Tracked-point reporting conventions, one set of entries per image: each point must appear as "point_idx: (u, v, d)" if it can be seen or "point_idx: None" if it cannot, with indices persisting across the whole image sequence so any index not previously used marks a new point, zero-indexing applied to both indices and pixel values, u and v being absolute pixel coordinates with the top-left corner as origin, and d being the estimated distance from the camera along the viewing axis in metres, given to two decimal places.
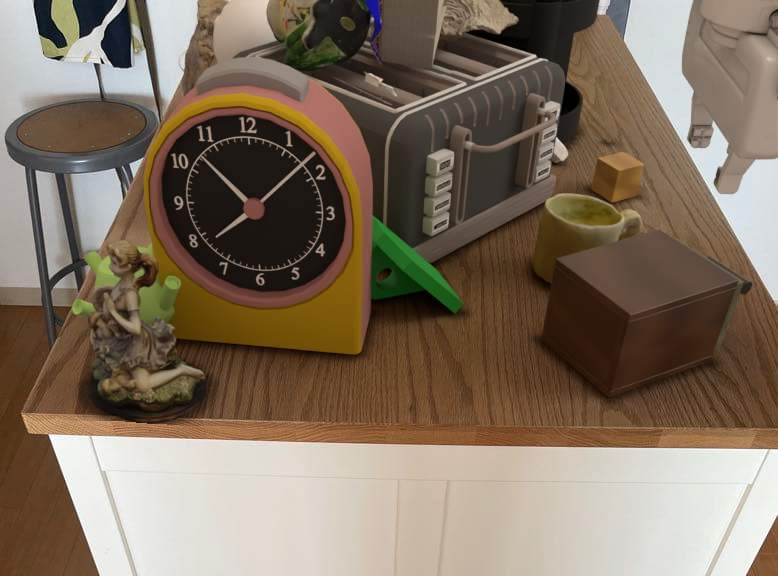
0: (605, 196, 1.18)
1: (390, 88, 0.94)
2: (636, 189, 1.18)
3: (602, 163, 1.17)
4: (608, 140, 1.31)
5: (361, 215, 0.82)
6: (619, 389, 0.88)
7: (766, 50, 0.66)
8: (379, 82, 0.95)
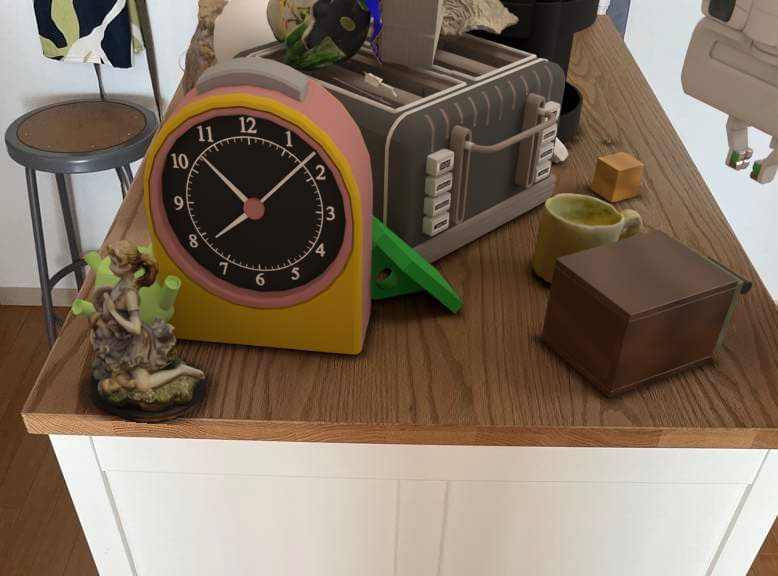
0: (605, 196, 1.18)
1: (390, 88, 0.94)
2: (636, 189, 1.18)
3: (602, 163, 1.17)
4: (608, 140, 1.31)
5: (361, 215, 0.82)
6: (619, 389, 0.88)
7: None
8: (379, 82, 0.95)
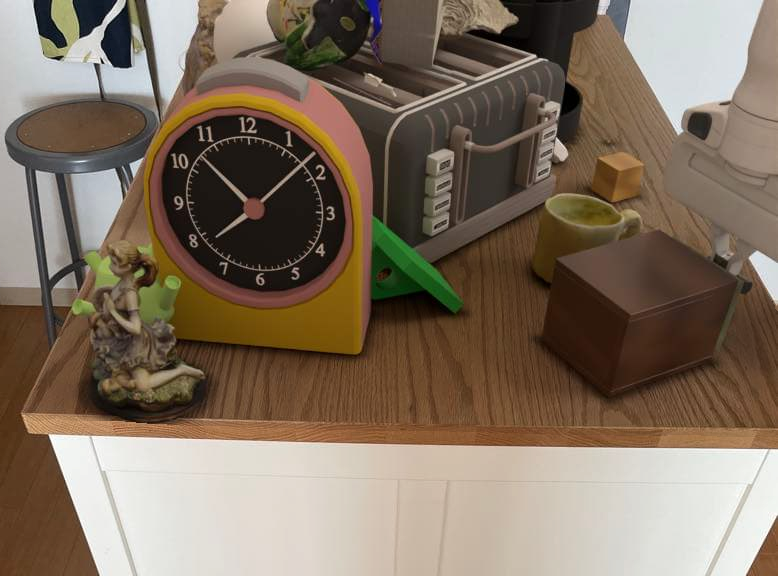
0: (605, 196, 1.18)
1: (390, 88, 0.94)
2: (636, 189, 1.18)
3: (602, 163, 1.17)
4: (608, 140, 1.31)
5: (361, 215, 0.82)
6: (619, 389, 0.88)
7: None
8: (378, 82, 0.95)
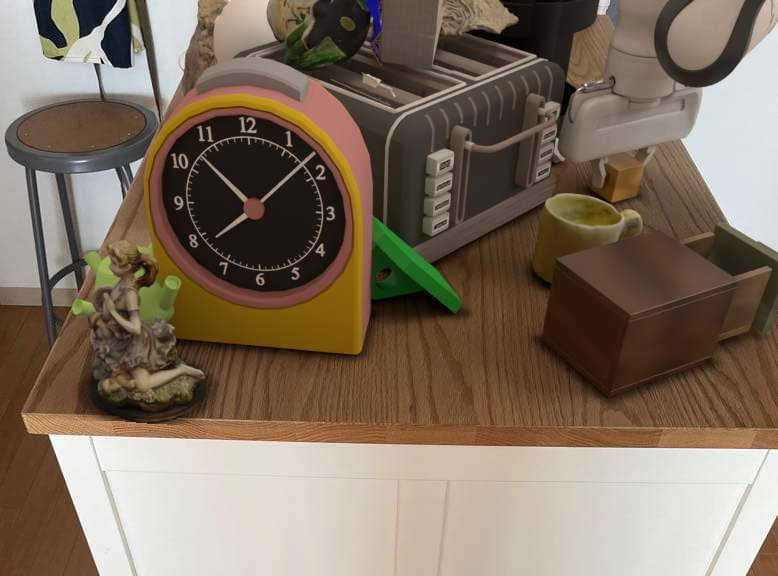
0: (605, 196, 1.18)
1: (389, 89, 0.94)
2: (636, 189, 1.18)
3: None
4: None
5: (361, 215, 0.82)
6: (619, 389, 0.88)
7: None
8: (377, 83, 0.95)
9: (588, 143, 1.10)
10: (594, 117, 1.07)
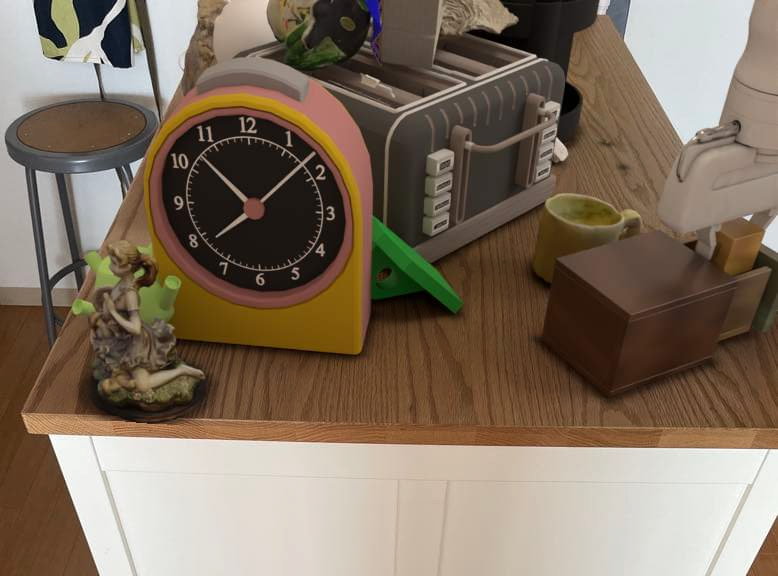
0: None
1: (388, 89, 0.94)
2: (752, 261, 0.91)
3: None
4: (606, 141, 1.31)
5: (361, 215, 0.82)
6: (619, 389, 0.88)
7: None
8: (376, 83, 0.95)
9: (701, 208, 0.82)
10: (712, 175, 0.80)
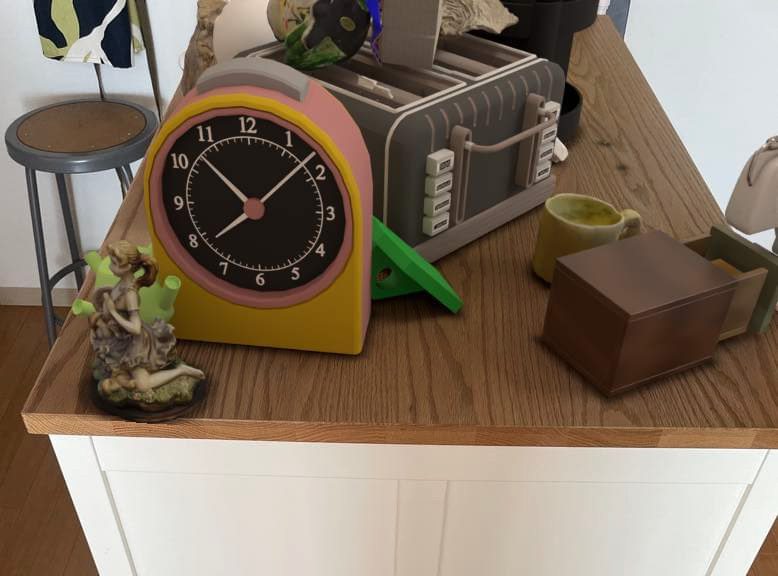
0: None
1: (387, 90, 0.94)
2: None
3: None
4: (605, 141, 1.31)
5: (361, 215, 0.82)
6: (619, 389, 0.88)
7: None
8: (374, 84, 0.95)
9: (768, 210, 0.88)
10: None
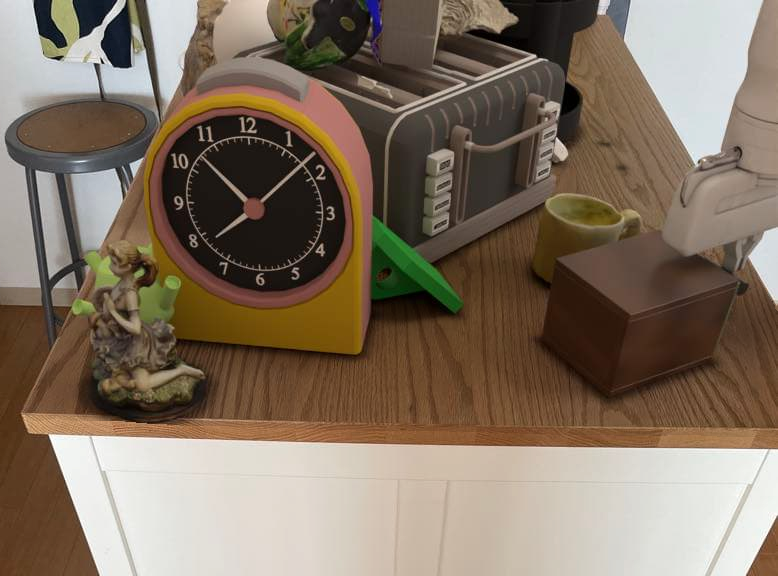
0: None
1: (386, 90, 0.94)
2: None
3: None
4: (605, 141, 1.31)
5: (361, 215, 0.82)
6: (619, 389, 0.88)
7: None
8: (373, 85, 0.95)
9: (704, 231, 0.85)
10: (714, 200, 0.83)
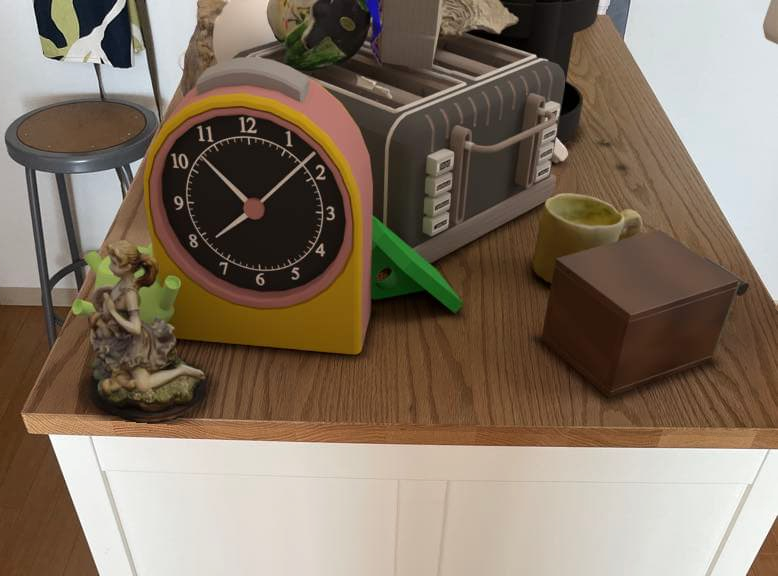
0: None
1: (386, 90, 0.94)
2: None
3: None
4: (604, 141, 1.31)
5: (361, 215, 0.82)
6: (619, 389, 0.88)
7: None
8: (373, 85, 0.95)
9: None
10: None
